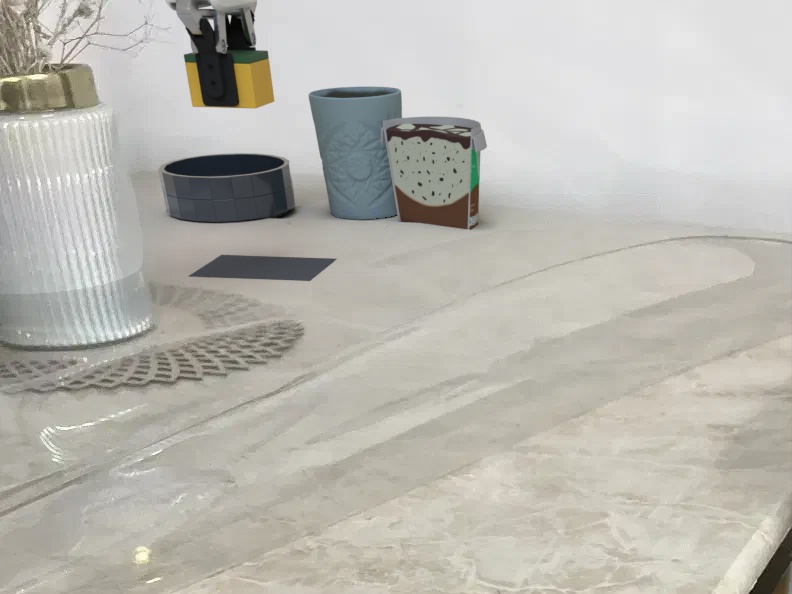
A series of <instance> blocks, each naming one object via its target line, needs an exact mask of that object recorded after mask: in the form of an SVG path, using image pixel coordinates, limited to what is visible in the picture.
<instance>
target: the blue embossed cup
mask: <svg viewBox="0 0 792 594" xmlns="http://www.w3.org/2000/svg"><path fill="white" fill-rule="evenodd" d="M402 96H403V95H402V90H401V89H399V88H396V87H390V86H387V87H386V86H345V87H344V86H343V87H330V88H321V89H318V90H313V91H311V92H309V93H308V102H309V106H310V112H311V117H312V120H313V125H314V131H315V136H316V142H317V146H318V153H319V155H320V156H319V157H320V159H321V165H322V173H323V177H324V182H325V187H326V192H327V193H326V194H327V198H328V206H329V211H330V214H331V215H332V216H334V217H337V218H340V219H346V220H347V219H348V220H377V219H376V218H379V219H386V218H385V217H387V218H391V216H392V217H396V216H398V215H397V209H396V203H395V197H394V190H393V184H392V178H391V172H390V166H389V160H388V153H387V147H386V142H383V143H381V128H383V121H385V120H391V119H398V118H403V103H402V99H403V98H402ZM395 215H396V216H395Z"/></svg>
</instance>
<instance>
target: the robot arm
mask: <svg viewBox="0 0 792 594" xmlns="http://www.w3.org/2000/svg"><path fill="white" fill-rule="evenodd" d="M165 2H166V4H167V6H168V7H169V8H170V9H171V10H172V11H175V12H176V16H177V18H178V19H179V21H181V23H182V24H183V25H184V28H185V31H186V32H187V34H188V36H189V38H190V39H189V42H190V48H191V51H192V52H193V53H194V54H195V59H196V65H197V71H198V77H199V83H200V89H201V95H202V101H203V103H204V105H206V106H220V107H235V106H237V105H238V104H239V97H238V90H237V84H236V77H235V70H234V64H233V57H232V53H226V52H227V50H257V47H256V46H257V36H256V32H255V27H254V26H255V25H254V24H255V21H256V19H255V18H256V16H255V13H256V11H257V10H256V9H257V5H258V0H165ZM208 7H211V8H208ZM229 16H230V19H229ZM209 20H211V21H213V26H212V24H211V23H210V21H209Z"/></svg>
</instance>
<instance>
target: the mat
mask: <svg viewBox="0 0 792 594" xmlns="http://www.w3.org/2000/svg"><path fill="white" fill-rule="evenodd" d="M337 260H338V258H331V257H330V258H327V257H299V256H274V255H273V256H272V255H270V256H269V255H244V254H243V255H240V254H238V255H237V254H220V255H219V256H217V257H216V258H214V259H212V260H211V261H209V262H208V263H206V264H205V265H202V266H201V267H200V268H199V269H197V270H195V271H193V272H192V273H191V274H189V275H188V276H187V277H189V278H212V279H213V278H217V279H218V278H219V279H242V280H269V281H299V282H311V281H312V280H313V279H314V278H316V277H318V276H319V275H320V274H321V273H322V272H323V271H325V270H326V269H327V268H328V267H329V266H331V265H332V264H333V263H335V262H336V261H337Z"/></svg>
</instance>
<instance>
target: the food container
mask: <svg viewBox="0 0 792 594" xmlns="http://www.w3.org/2000/svg"><path fill="white" fill-rule="evenodd" d="M485 135H486V134H485V132H484V129H483V128H482V125H481V122H480V121H478V120H476V119H470V118H465V117H455V116H409V117H402V118H398V119H391V120H385V121H383V128H381V143H383V142H386V147H387V153H388V160H389V166H390V172H391V178H392V184H393V190H394V197H395V203H396V209H397V215H396V216H397V221H398V223H414V224H415V223H416V224H424V225H425V224H426V225H432V226H438V227H439V226H440V227H447V228H455V229H461V230H468V231H471V230H472V229H475V228H476V227H477V226H478V225H479V207H480V206H479V205H480V204H479V203H480V177H481V175H480V174H481V152H482V151H484V150H486V149H487V147H488V144H487V140H486V136H485Z"/></svg>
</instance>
